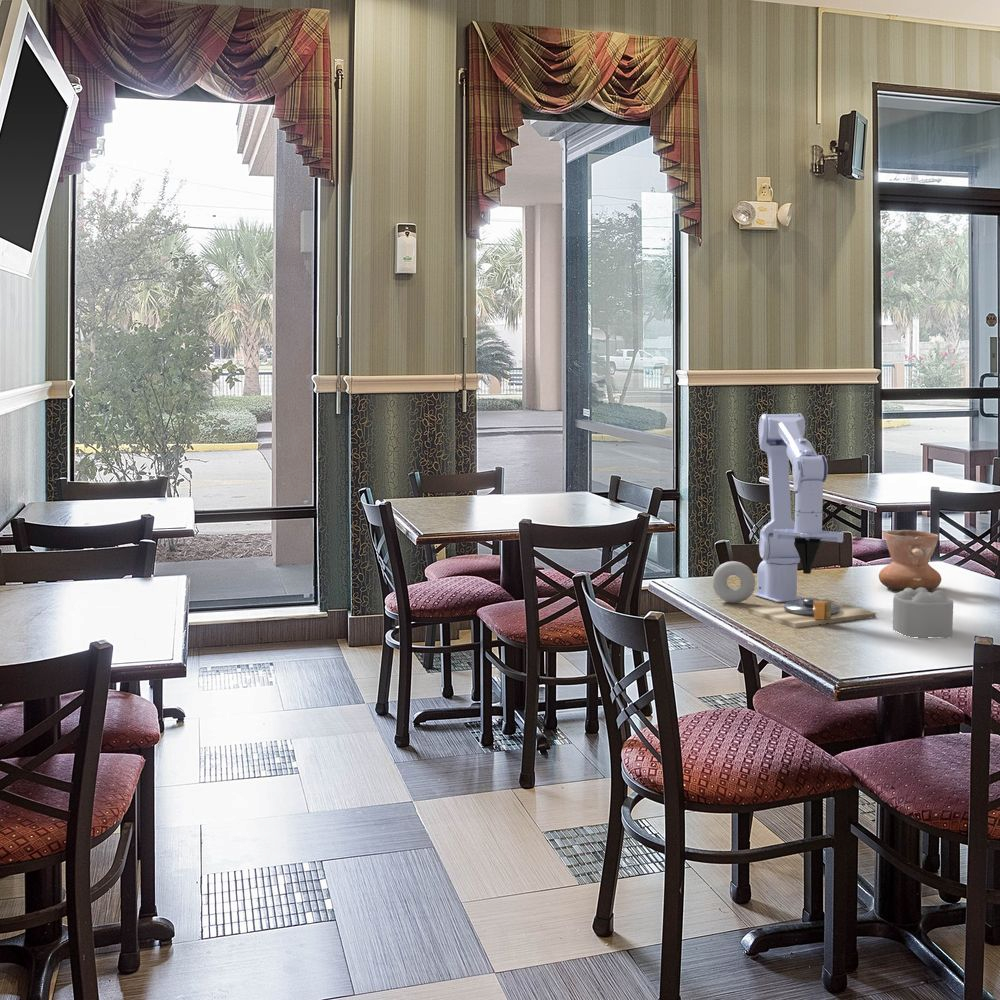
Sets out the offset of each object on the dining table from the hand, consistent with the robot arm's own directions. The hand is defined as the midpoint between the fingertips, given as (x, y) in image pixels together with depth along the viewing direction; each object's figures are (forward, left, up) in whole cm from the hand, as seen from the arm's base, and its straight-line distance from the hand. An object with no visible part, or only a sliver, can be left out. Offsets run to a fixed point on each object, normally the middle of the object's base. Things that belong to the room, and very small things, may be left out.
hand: (807, 572), depth 234 cm
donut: (-20, -5, -11) cm, 23 cm away
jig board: (-2, +3, -10) cm, 11 cm away
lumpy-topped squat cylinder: (+19, +14, -11) cm, 26 cm away
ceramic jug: (-14, +43, -11) cm, 47 cm away
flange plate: (-1, +3, -9) cm, 9 cm away
